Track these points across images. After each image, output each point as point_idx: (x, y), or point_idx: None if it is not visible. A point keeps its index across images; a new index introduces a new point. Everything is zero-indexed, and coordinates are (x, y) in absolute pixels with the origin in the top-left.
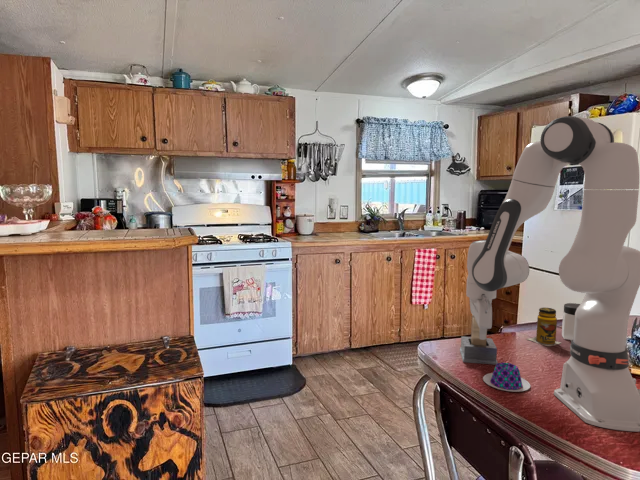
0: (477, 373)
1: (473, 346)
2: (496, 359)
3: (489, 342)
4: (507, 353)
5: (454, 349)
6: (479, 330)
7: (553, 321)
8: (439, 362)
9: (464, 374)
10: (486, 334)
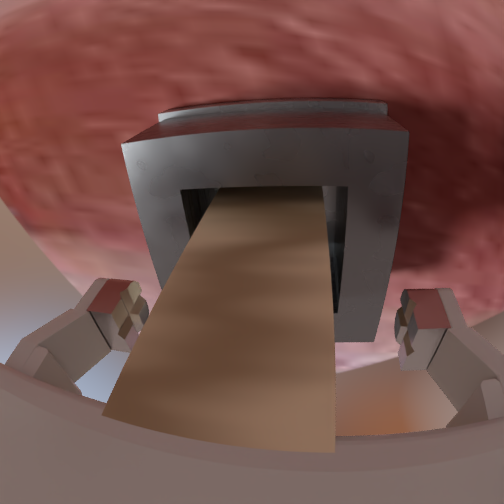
0: (494, 235)
1: (377, 300)
2: (345, 101)
3: (244, 169)
4: (138, 19)
5: None
6: (453, 400)
7: None
8: (376, 353)
9: (494, 284)
10: (329, 272)
